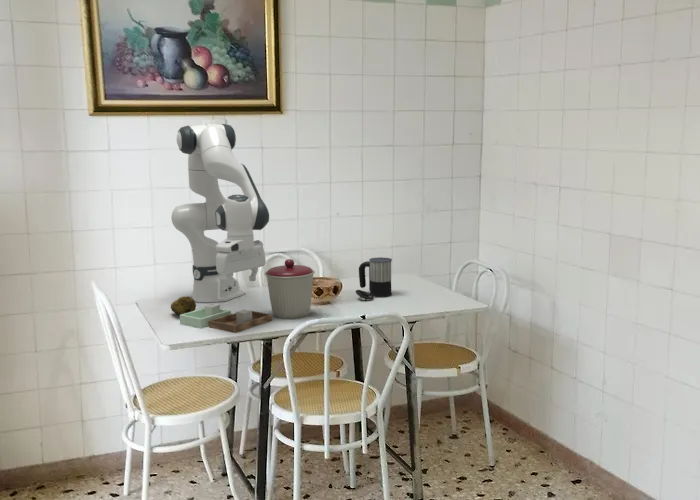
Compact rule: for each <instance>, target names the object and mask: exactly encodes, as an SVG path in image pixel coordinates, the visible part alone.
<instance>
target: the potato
mask: <svg viewBox="0 0 700 500" xmlns="http://www.w3.org/2000/svg"><path fill="white" fill-rule="evenodd" d="M196 308H197V303H196V302H195V301H194V299H193V298H192V297H191V296H189V295H188V296H181V297H178V298H177V299H175V300H174V301H173V302H172V303H171V304H170V309H171V311H172V313H174V314H178V315H179V316H180V315H181V314H185V313H188V312H192V311H196V310H197V309H196Z"/></svg>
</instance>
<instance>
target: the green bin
mask: <svg viewBox="0 0 700 500" xmlns="http://www.w3.org/2000/svg"><path fill="white" fill-rule="evenodd" d="M230 314H232V310H229V309H223V308H220V313H218V314H215V315H211V316H208V317H205V310H204V307H203V308H200V309H195V310H194V311H192V312H188V313H185V314H181V315H179V324H180V325H184V326H187V327H193V328H197V329H204V328H207V327H208V328H209V322H208V321H210V320H213V319H217V318H220V317H223V316H227V315H230Z"/></svg>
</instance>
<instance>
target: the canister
mask: <svg viewBox="0 0 700 500" xmlns="http://www.w3.org/2000/svg"><path fill="white" fill-rule="evenodd" d="M315 273H316V271H315V269H313V268H312V267H310V266H306V265H302V264H295V260H294V259H291V258H288V259H286V260H285V261H284V265H279V266H278V265H277V266H273V267H271V268H268V270H266V271H264V276H266V281H267V288H268V294H269V295H268V296H269V301H270V306H271V311H272V315H273V316H274V317H275V318H279V319H289V320H290V319H300V318H303V317H307V316H309V314H310V311H311V306H312V295H313V282H314V274H315Z"/></svg>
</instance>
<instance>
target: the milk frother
mask: <svg viewBox="0 0 700 500" xmlns="http://www.w3.org/2000/svg"><path fill="white" fill-rule="evenodd" d="M392 261H393V259H392V258H391V257H383V256H382V257H381V256H380V257H371V258H369V259H368V260H367V261H364V262H362V263H361V264H360V265H359V266H358V280H359V287H360V288H361V289H364V288H365V287H366V286H367V280H366V268H369V269H368V281H369V282H368V285H369V286H368V290H369V292H367V291H364V290H361V289H357V290H355V294H356V295H357V296H358V297H360V298H361V299H364V300H365V301H367V300H369V301H370V300H373V299H374V298H388V297H392V295H393V293H392Z"/></svg>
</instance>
